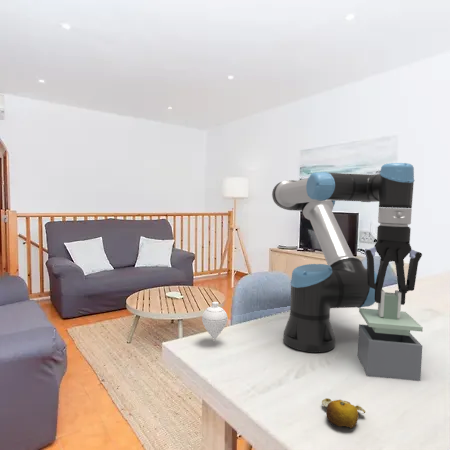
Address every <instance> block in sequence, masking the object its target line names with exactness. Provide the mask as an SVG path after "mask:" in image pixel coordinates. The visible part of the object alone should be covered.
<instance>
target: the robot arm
mask: <svg viewBox="0 0 450 450" xmlns="http://www.w3.org/2000/svg"><path fill="white" fill-rule="evenodd" d="M414 173H415V168H414V165H412V164H411V163H407V162H389V163H384V164H383V165H382V166H381V168H380V172H379V173H377V174H376V173H375V174H374V173H373V174H364V173H363V174H362V173H340V172H339V173H338V172H327V171H321V172H317V171H316V172H312V173H311V174H310V175H309V176H308V177H307V178H303V179H299V180H298V179H297V180H294V179H293V180H292V179H291V180H283V181H280V182H278V183H277V184H275V185H274V187H273V189H272V194H271V197H272V200H273V202H274V204H275V205H277V207H278V208H281V209H284V210H287V211H295V212H296V211H299V212H300V211H301V212H302V215H303V216H304V218H305V219H307V220H308V221H309V222H310V224H311V226H312V229H313V231H314V235H315V237H316V239H317V242H318V243H319V247H320V249H321V251H322V254H323V257H324V258H325V261H326V264H325V263H309V264H303V265H299V266H296V267H295V268H294V269H293V270H292V272H291V279H290V307H289V316H288V317H289V318H288V320H287V322H286V326H285V328H284V330H283V334H282V335H283V338H282V339H283V342H284V343H285V345H287V346H289V347H291V348H293V349H295V350H298V351H302V352H306V353H307V352H308V353H325V352H329V351H331V350H333V349H334V348H335V344H336V337H335V334H334V330H333V327H332V323H331V319H330V318H331V317H330V316H331V313H330V312H331V309H340V308H341V309H344V308H347V309H348V308H352V309H353V308H357V309H359V308H365V307H372V305H374V304H377V310H378V315H379V316H380V317H383V316H384V299H385V292H386V291H385V290H384V289H383V286H384V282H385V278H386V275H387V274H386V273H387V269H388V267H389V265H390V263H391V262H392V263H393V262H394V265H395V272H396V279H397V281H396V282H397V288H398V289H397V290H394V293H395V294H396V295H397V296H398V312H397V318H400V311H402V310H401V308H402V307H401V306H404V305H405V303H406V294H407V293H408V292H410V291H411V292H412V291H414V290H415V287H416V286H415V285H416V281H417V274H418V266H419V262H420V260H421V258H422V256H423V253H421V252H419V251H416V250H414V249H413V248H412V246H411V243H410V242H411V230H412V229H411V227H410V226H409V225H411V224H412V211H413V210H412V208H413V196H414V195H413V194H414V182H415V174H414ZM336 201H338V202H339V201H343V202H361V203H371V202H372V203H374V202H376V203H377V202H379V203H378V216H377V222H378V224H380V225H378V226H377V232H376V233H377V234H376V242H375V244H374V246H373V247H371V248H365V249H364V250H363V252H364V255H365V257H366V268H365V266H364V264H363V262H362V260H361V259H360V258H358V257H355V256H354V255H353V253H352V251H351V248H350V247H349V245H348V241H347V240H346V238H345V236H344V234H343V231H342V229H341V227H340V225H339V223H338V221H337V219H336V216H335V214H334V213H333V209H334V207H335V204H336ZM376 253H377V254H378V256H379V258H380V259H379V267H378V269H377V270H378V271H377V272H376V270H375V260H374V259H375V258H374V257H375V255H376ZM408 255H409V256H408ZM407 256H408V257H409V261H408V262H409V263H408V269H407V270H408V271H407V275H406V277H405V260H404V259H405V258H407Z"/></svg>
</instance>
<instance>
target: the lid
mask: <svg viewBox="0 0 450 450" xmlns="http://www.w3.org/2000/svg"><path fill="white" fill-rule="evenodd" d="M384 292H385V299H384V316H383V317H380V316H379V315H378V308H377V309H376V308H365V307H361V308H358V313H359V314H360V316H361V317H362V318H363V320H364V322H365V324H366V325H368V326H369V327H372V329H373V330H374V332H375V333H385V334H396V335H407V336H410V333H411V331H413V332H423V326H422V325H421V324H420V323H418V322H417V321H416V320H415V318H413V317H412V315H410V314H409V313H408V312H407V311H402V310H400V318H397V312H398V296H397V295H396V294H395V292H386V291H384Z"/></svg>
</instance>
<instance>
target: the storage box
mask: <svg viewBox="0 0 450 450" xmlns="http://www.w3.org/2000/svg"><path fill="white" fill-rule="evenodd" d="M357 335H358V336H357V339H358V341H357V357H358V360H359V362H360V365H361V366H362V369H363V370H364V372H365V374H366V377H371V378H383V379H395V380H402V381H403V380H406V381H417V382H421V375H422V361H423V359H422V358H423V345H422V344H421V342H420V341H418V340H417V338H415V337H414V335H413V334H412V333H411V332H410V336H407V335H396V334H385V333H375V332H374V330H373V329H372V327H369V326H368V325H367V324H358V334H357Z"/></svg>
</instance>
